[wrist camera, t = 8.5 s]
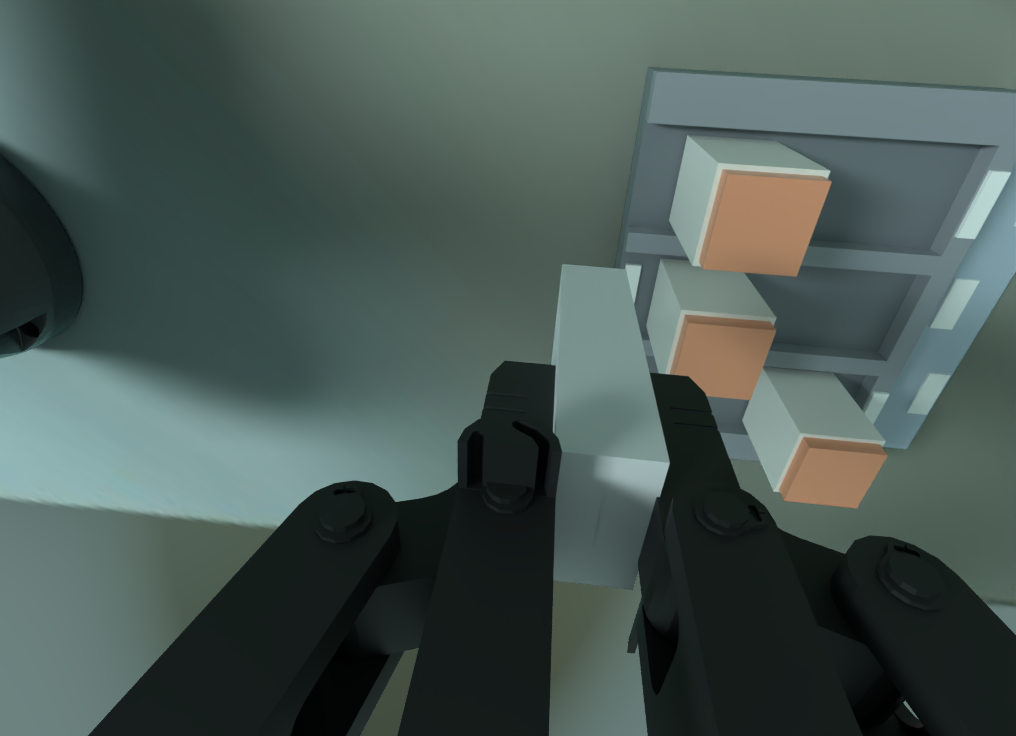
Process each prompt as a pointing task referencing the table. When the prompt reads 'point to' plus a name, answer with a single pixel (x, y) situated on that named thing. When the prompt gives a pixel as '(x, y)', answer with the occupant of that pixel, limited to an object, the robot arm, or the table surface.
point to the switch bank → (832, 210)
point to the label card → (953, 322)
